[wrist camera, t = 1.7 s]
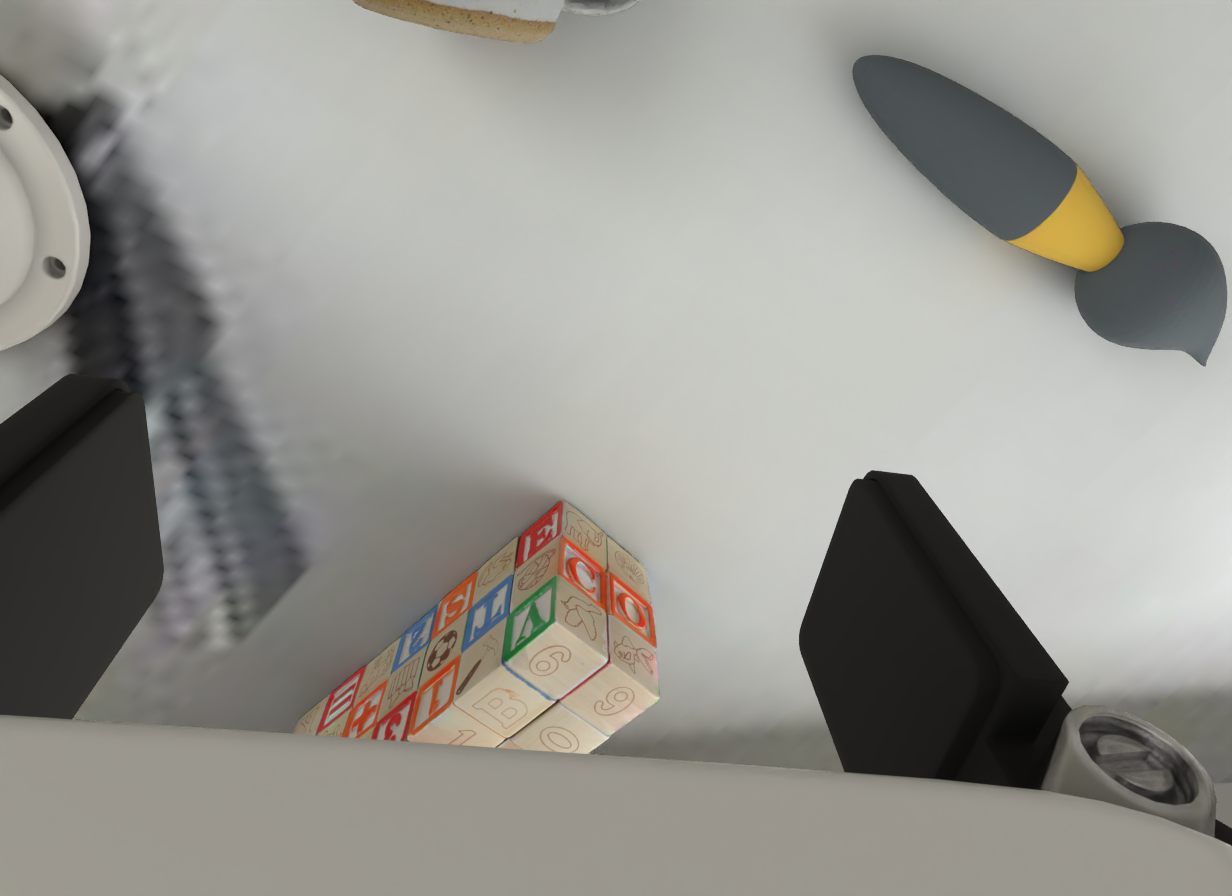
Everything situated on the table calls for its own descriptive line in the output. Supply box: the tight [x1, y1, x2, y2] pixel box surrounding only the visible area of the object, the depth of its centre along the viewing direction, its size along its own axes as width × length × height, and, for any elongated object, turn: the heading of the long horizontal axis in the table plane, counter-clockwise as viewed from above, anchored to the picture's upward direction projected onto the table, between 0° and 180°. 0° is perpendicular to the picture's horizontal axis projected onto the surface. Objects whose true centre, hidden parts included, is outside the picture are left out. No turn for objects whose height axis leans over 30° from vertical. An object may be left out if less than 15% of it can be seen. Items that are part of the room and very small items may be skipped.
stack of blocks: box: [293, 500, 660, 754], centre depth 38 cm, size 21×6×12 cm, turn 134°
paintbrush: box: [853, 55, 1227, 366], centre depth 31 cm, size 20×5×5 cm, turn 62°
